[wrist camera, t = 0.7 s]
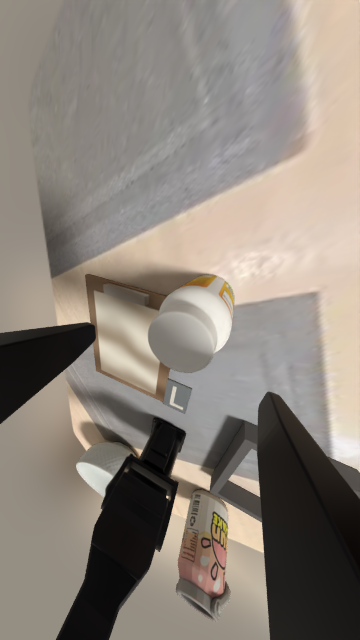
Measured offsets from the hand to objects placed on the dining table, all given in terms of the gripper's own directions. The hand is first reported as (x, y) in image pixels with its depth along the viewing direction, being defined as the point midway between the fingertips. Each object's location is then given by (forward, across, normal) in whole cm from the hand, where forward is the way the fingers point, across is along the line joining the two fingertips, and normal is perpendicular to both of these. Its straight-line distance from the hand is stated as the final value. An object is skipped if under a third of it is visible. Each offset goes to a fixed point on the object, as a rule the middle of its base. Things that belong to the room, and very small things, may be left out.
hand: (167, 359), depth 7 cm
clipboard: (+11, +10, +10) cm, 18 cm away
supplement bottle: (+11, 0, 0) cm, 11 cm away
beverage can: (+11, -12, +45) cm, 48 cm away
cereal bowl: (+11, +11, +46) cm, 49 cm away
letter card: (+11, +1, +17) cm, 20 cm away
